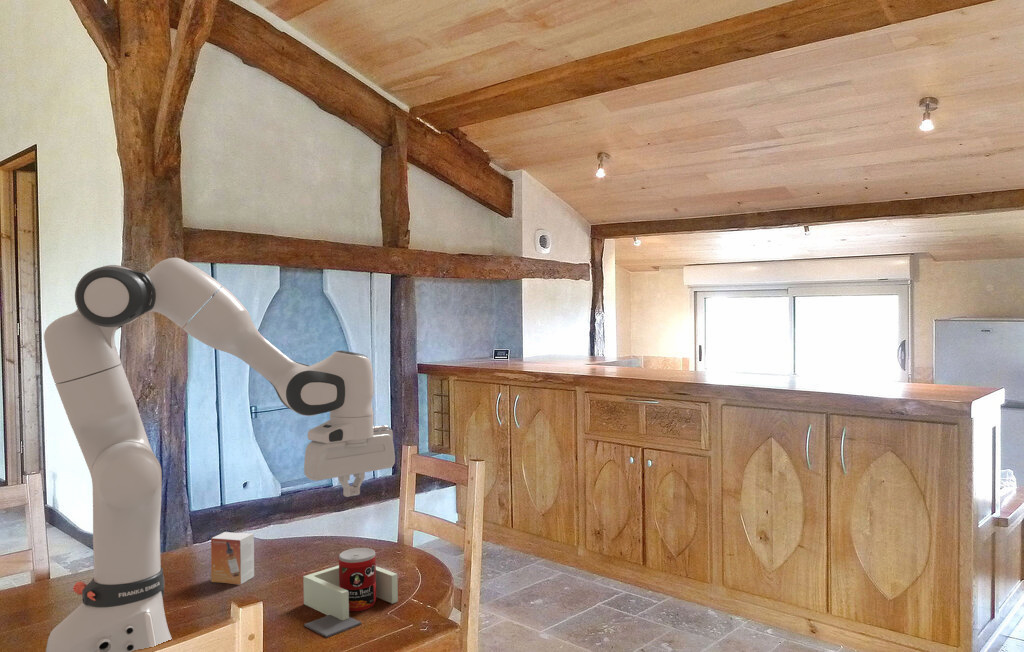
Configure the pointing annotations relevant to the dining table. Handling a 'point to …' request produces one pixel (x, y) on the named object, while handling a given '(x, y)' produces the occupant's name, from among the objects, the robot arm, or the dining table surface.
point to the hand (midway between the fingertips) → (351, 495)
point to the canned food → (358, 577)
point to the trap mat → (331, 625)
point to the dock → (343, 591)
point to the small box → (232, 558)
